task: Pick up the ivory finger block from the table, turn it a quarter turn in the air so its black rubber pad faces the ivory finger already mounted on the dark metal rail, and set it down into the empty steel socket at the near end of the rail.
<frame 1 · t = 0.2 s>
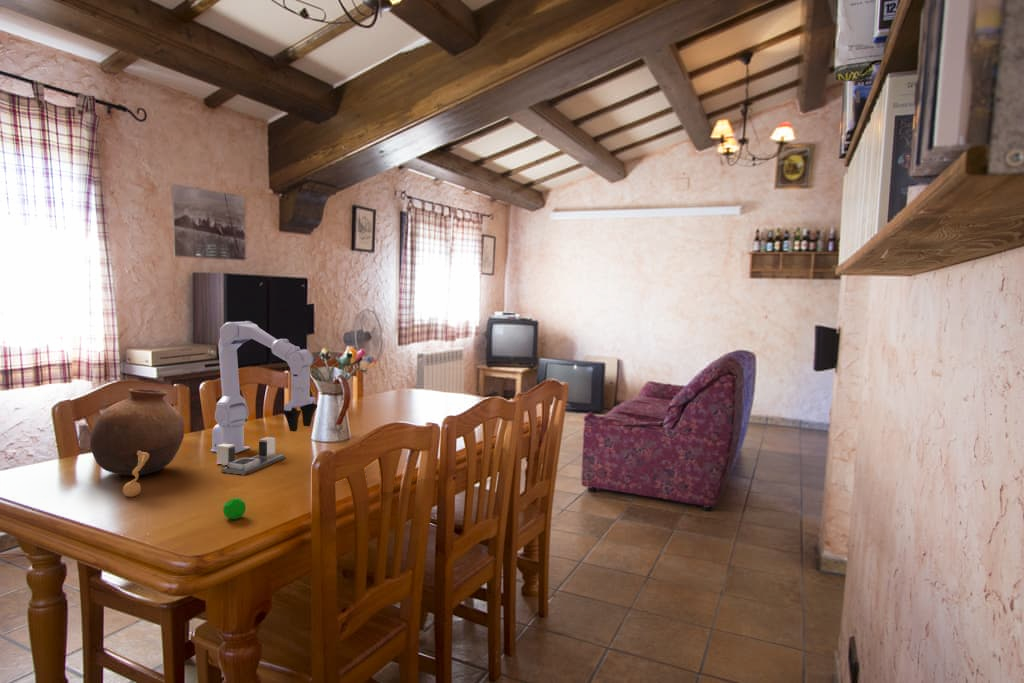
hand: (300, 428, 196), 10 cm above the table, tool pointing down, fingers open, 7 cm apart
finger block: (225, 463, 188), on the table
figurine: (136, 496, 157), on the table
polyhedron: (234, 519, 144), on the table
rail: (254, 464, 188), on the table
pottery: (141, 473, 176), on the table
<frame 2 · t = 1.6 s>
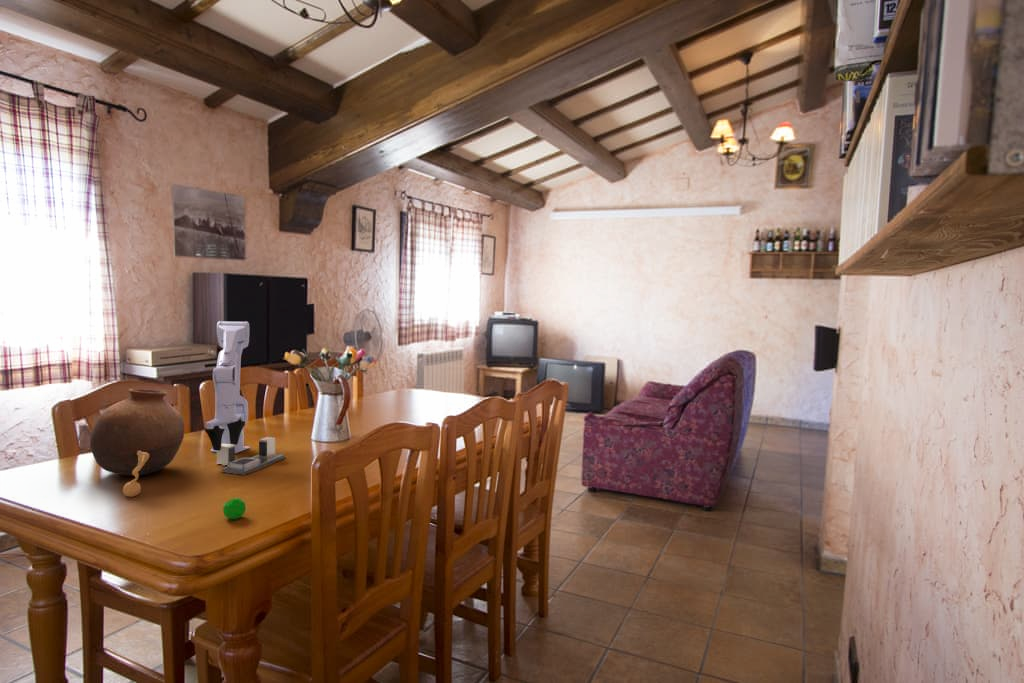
hand: (225, 447, 188), 5 cm above the table, tool pointing down, fingers open, 7 cm apart
nothing on the table moved.
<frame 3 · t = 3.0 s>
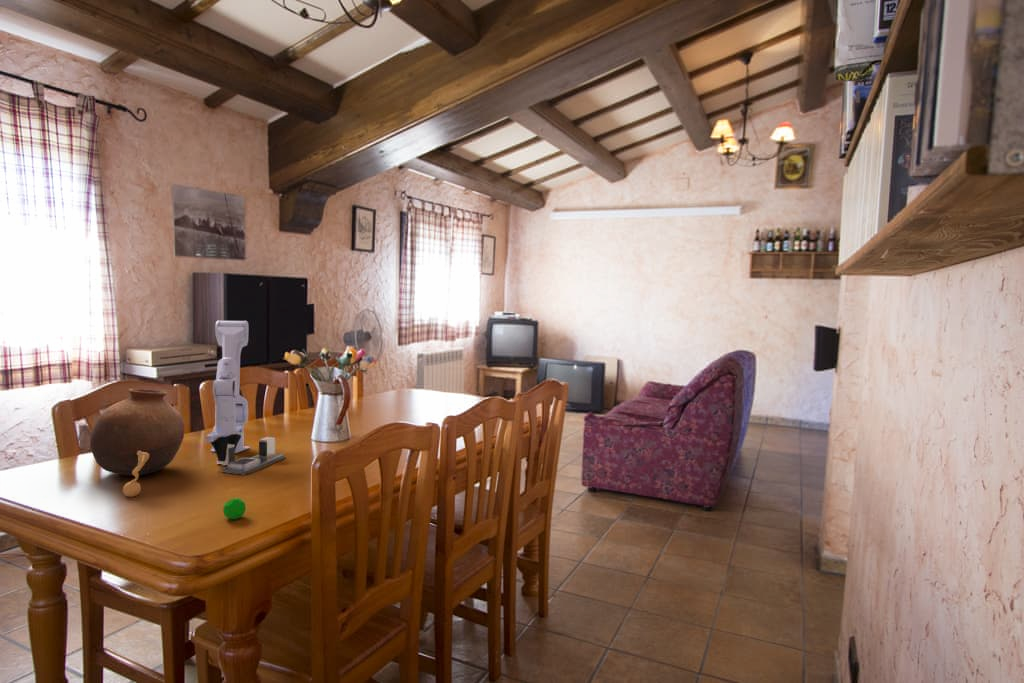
hand: (225, 459, 188), 1 cm above the table, tool pointing down, fingers closed on finger block, 3 cm apart
finger block: (225, 463, 188), on the table, touching gripper
everything else where it was.
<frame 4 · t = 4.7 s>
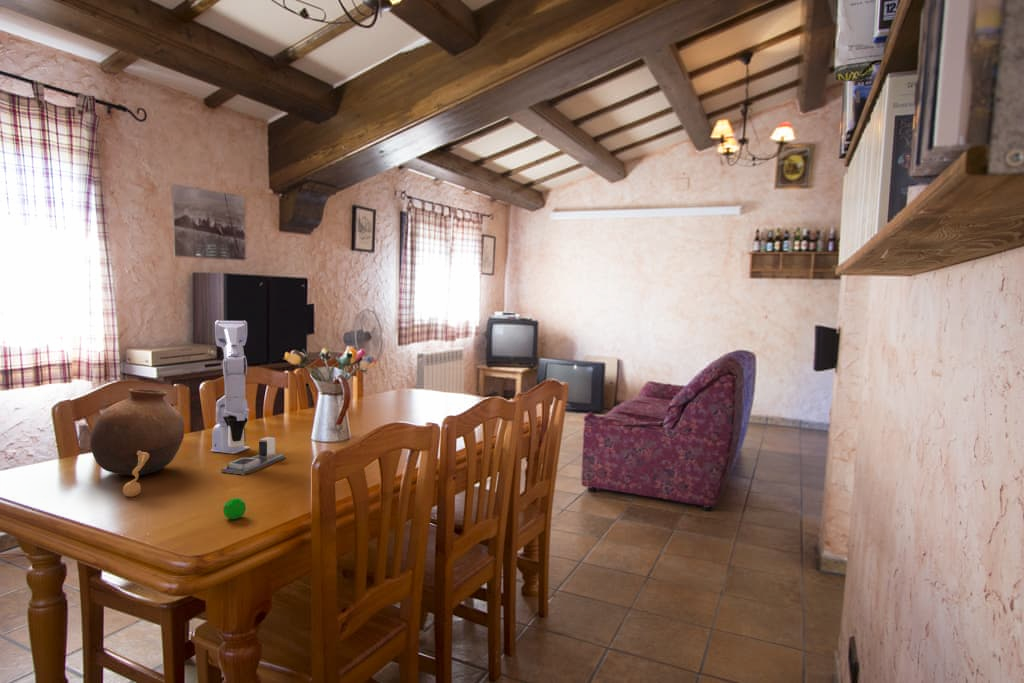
hand: (235, 439, 184), 9 cm above the table, tool pointing down, fingers closed on finger block, 3 cm apart
finger block: (236, 445, 185), point 7 cm above the table, touching gripper
everything else where it was.
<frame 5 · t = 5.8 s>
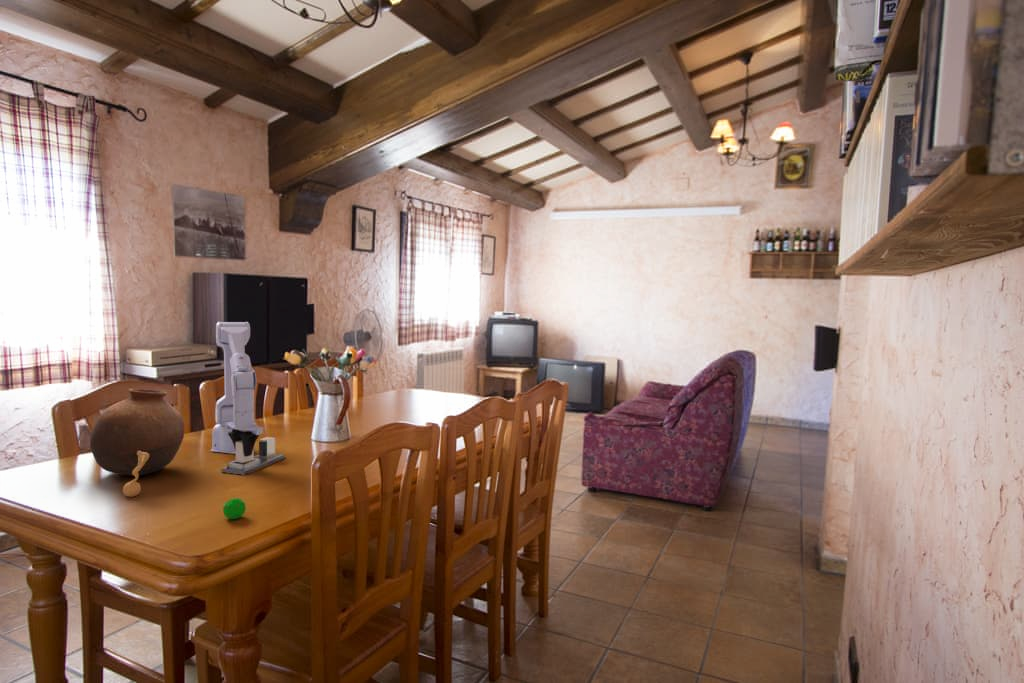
hand: (244, 454, 183), 5 cm above the table, tool pointing down, fingers closed on finger block, 3 cm apart
finger block: (244, 460, 183), point 3 cm above the table, touching gripper
everything else where it was.
when the fingers open (4 cm above the table, at t = 6.5 s): finger block drops 2 cm, resting on rail.
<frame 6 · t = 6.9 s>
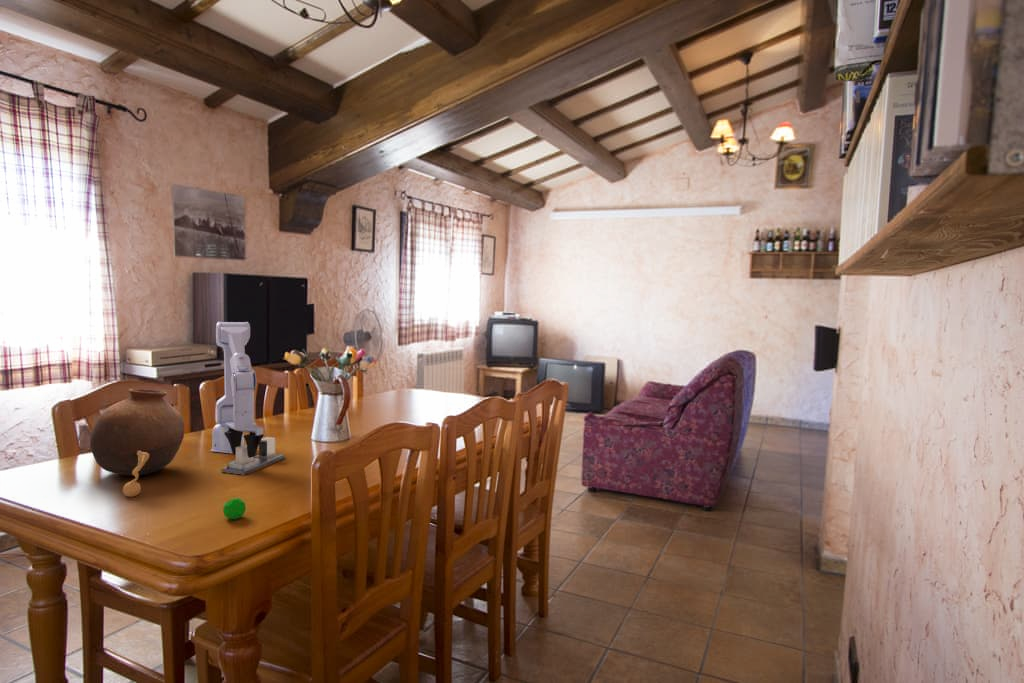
hand: (244, 455, 183), 4 cm above the table, tool pointing down, fingers open, 6 cm apart
finger block: (244, 465, 183), point 1 cm above the table, touching rail
everything else where it was.
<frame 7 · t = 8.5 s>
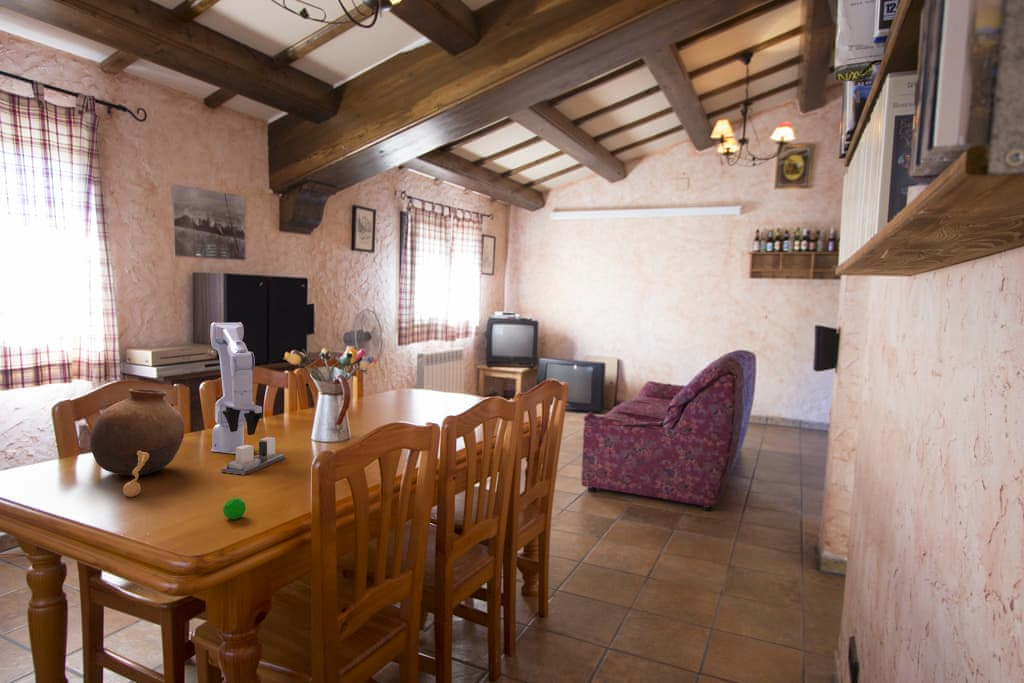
hand: (242, 433, 190), 9 cm above the table, tool pointing down, fingers open, 7 cm apart
nothing on the table moved.
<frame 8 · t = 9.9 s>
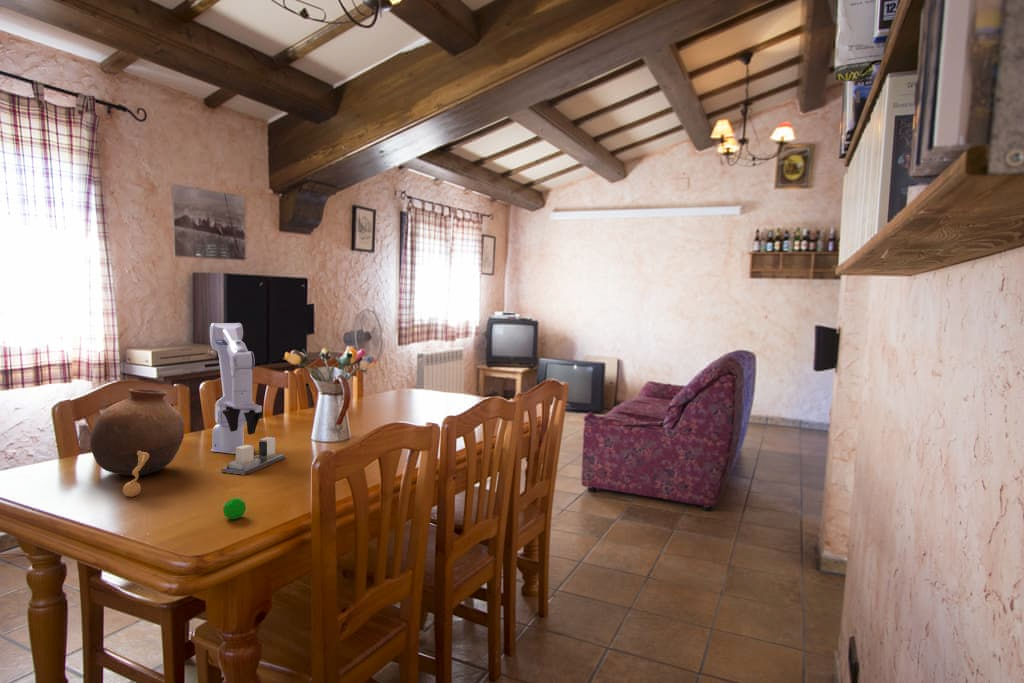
hand: (242, 432, 190), 9 cm above the table, tool pointing down, fingers open, 7 cm apart
nothing on the table moved.
at the end: finger block 0.2 cm from the target spot on the rail, point 1.0 cm above the rail's base; finger block tilted 0°; the gripper is holding nothing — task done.
